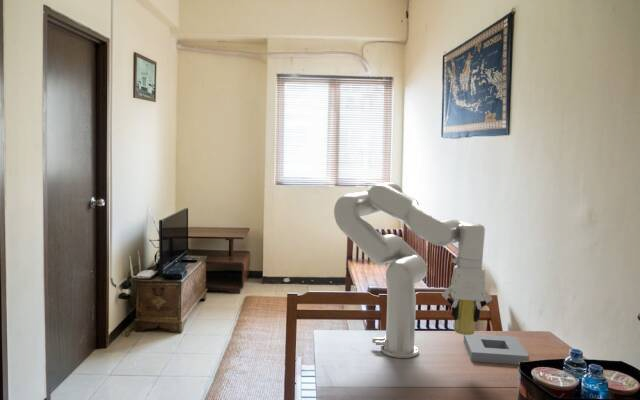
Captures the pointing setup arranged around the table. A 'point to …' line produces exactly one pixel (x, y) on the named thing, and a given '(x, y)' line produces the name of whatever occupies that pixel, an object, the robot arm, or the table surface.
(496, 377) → the table surface
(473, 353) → the socket plate
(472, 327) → the vase
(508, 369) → the table surface
